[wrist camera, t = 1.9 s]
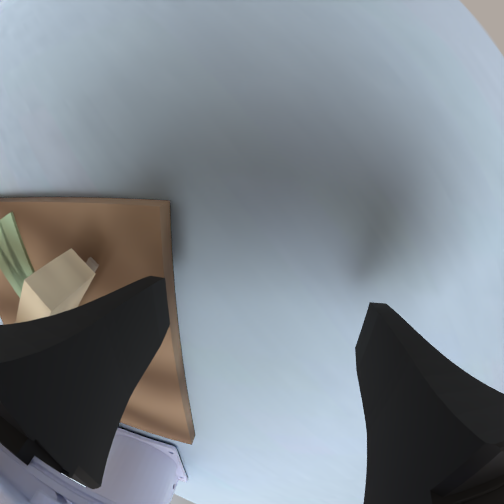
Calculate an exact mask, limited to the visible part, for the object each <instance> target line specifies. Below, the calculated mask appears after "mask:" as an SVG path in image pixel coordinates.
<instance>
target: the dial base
mask: <svg viewBox="0 0 504 504" xmlns="http://www.w3.org/2000/svg"><path fill="white" fill-rule="evenodd" d="M71 248H72V249H73V250H74V251H75V252H76V254H77V255H78V256H79V257H80V258H81V259H82V260H83V261H84V262H85V263H86V264H87V265H88V266H89V267H90V268H91V269H92V270H93V271H94V272H95V273H96V274H95V276H94V278H93V280H92V281H91V283H90V285H89V287H88V289H87V290H86V292H85V294H84V296H83V298H82V300H81V301H80V303H79V305H78V307H79V306H81V305H84V304H86V303H88V302H91V301H93V300H95V299H98V298H100V297H102V296H105V295H107V294H109V293H111V292H113V291H115V290H118V289H120V288H122V287H124V286H126V285H128V284H131V283H133V282H135V281H137V280H140V279H142V278H145V277H148V276H156V277H162V278H165V281H166V291H167V301H168V309H169V318H170V325H169V328H168V330H167V333H166V335H165V337H164V340H163V342H162V344H161V346H160V348H159V350H158V351H157V353H156V355H155V356H154V358H153V360H152V361H151V363H150V364H149V366H148V368H147V369H146V371H145V373H144V374H143V376H142V378H141V379H140V381H139V383H138V384H137V386H136V388H135V389H134V391H133V393H132V395H131V397H130V399H129V401H128V403H127V406H126V408H125V410H124V413H123V415H122V418H121V420H120V422H121V423H124V424H126V425H129V426H132V427H135V428H138V429H140V430H143V431H146V432H149V433H152V434H156V435H159V436H162V437H165V438H169V439H172V440H176V441H180V442H183V443H187V444H191V445H192V443H193V440H194V437H195V431H194V426H193V421H192V416H191V410H190V404H189V399H188V393H187V386H186V380H185V373H184V367H183V359H182V352H181V344H180V336H179V327H178V318H177V308H176V298H175V286H174V274H173V259H172V241H171V218H170V201H169V200H149V199H126V198H92V197H13V198H0V316H1V319H2V321H3V324H4V325H5V324H14V323H15V322H16V318H17V312H18V307H19V301H20V296H21V292H22V287H23V283H24V279H26V278H27V277H29V276H30V275H31V274H33V273H34V272H36V271H37V270H39V269H40V268H42V267H43V266H45V265H46V264H48V263H49V262H51V261H52V260H54V259H55V258H57V257H58V256H60V255H61V254H63V253H65V252H66V251H68V250H69V249H71Z"/></svg>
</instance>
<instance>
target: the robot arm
mask: <svg viewBox="0 0 504 504" xmlns="http://www.w3.org/2000/svg"><path fill="white" fill-rule="evenodd" d="M169 325H170V318H169V309H168V301H167V291H166V281H165V278H162V277H156V276H148V277H145V278H142V279H140V280H137V281H135V282H133V283H131V284H128V285H126V286H124V287H122V288H120V289H118V290H115V291H113V292H111V293H109V294H107V295H105V296H102V297H100V298H98V299H95V300H93V301H91V302H88V303H86V304H84V305H81V306H79V307H76V308H73V309H70V310H68V311H64V312H61V313H58V314H55V315H52V316H48V317H43V318H39V319H35V320H31V321H26V322H20V323H14V324H5V325H0V504H170V502H171V499H172V497H173V494H174V491H175V488H176V486H177V483H178V480H180V481H184V482H187V480H188V478H187V476H186V473H185V470H184V468H183V465H182V463H181V460H180V457H179V454H178V452H177V449H176V448H175V447H174V446H172V445H168V444H165V443H162V442H159V441H155V440H152V439H149V438H146V437H143V436H140V435H137V434H135V433H132V432H129V431H127V430H124V429H121V428H119V427H118V425H119V423H120V420H121V418H122V415H123V413H124V410H125V408H126V406H127V403H128V401H129V399H130V397H131V395H132V393H133V391H134V389H135V388H136V386H137V384H138V383H139V381H140V379H141V378H142V376H143V374H144V373H145V371H146V369H147V368H148V366H149V364H150V363H151V361H152V360H153V358H154V356H155V355H156V353H157V351H158V350H159V348H160V346H161V344H162V342H163V340H164V337H165V335H166V333H167V330H168V328H169ZM355 350H356V367H357V376H358V381H359V387H360V392H361V397H362V403H363V409H364V415H365V421H366V429H367V474H366V487H365V496H364V504H504V394H503V393H501V392H499V391H497V390H495V389H493V388H491V387H489V386H487V385H486V384H484V383H482V382H481V381H479V380H477V379H476V378H474V377H472V376H471V375H469V374H468V373H466V372H465V371H464V370H462V369H461V368H459V367H458V366H457V365H455V364H454V363H453V362H451V361H450V360H449V359H447V358H446V357H445V356H444V355H442V354H441V353H440V352H439V351H438V350H437V349H435V348H434V347H433V346H432V345H431V344H430V343H429V342H427V341H426V340H425V339H424V338H423V337H422V336H421V335H420V334H419V333H418V332H417V331H416V330H414V329H413V328H412V327H411V326H410V325H409V324H408V323H407V322H406V321H405V320H404V319H403V318H402V317H401V316H400V315H399V314H398V313H396V312H395V311H394V310H393V309H392V308H391V307H390V306H388V305H387V304H384V303H371V302H370V304H369V307H368V310H367V314H366V317H365V320H364V323H363V326H362V329H361V332H360V335H359V338H358V341H357V344H356V347H355ZM61 473H63V474H64V475H63V474H61ZM65 475H66V476H68V477H69V478H68V477H66V476H65ZM70 478H72V479H74V480H76V481H77V482H79V483H81V484H83V485H85V486H86V487H84V486H82V485H80V484H78V483H76V482H75V481H73V480H71V479H70Z"/></svg>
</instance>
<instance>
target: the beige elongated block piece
mask: <svg viewBox="0 0 504 504" xmlns="http://www.w3.org/2000/svg"><path fill="white" fill-rule="evenodd" d="M95 274H96V273H95V272H94V271H93V270H92V269H91V268H90V267H89V266H88V265H87V264H86V263H85V262H84V261H83V260H82V259H81V258H80V257H79V256H78V255H77V254H76V252H75V251H74V250H73V249H72V248H71V249H69V250H68V251H66V252H65V253H63V254H61V255H60V256H58V257H57V258H55V259H54V260H52V261H51V262H49V263H48V264H46V265H45V266H43V267H42V268H40V269H39V270H37V271H36V272H34V273H33V274H31V275H30V276H29V277H27V278H26V279H24V283H23V287H22V292H21V296H20V301H19V307H18V312H17V318H16V322H15V323H20V322H26V321H31V320H35V319H39V318H43V317H48V316H52V315H55V314H58V313H61V312H64V311H68V310H70V309H73V308H76V307H78V305H79V303H80V301H81V300H82V298H83V296H84V294H85V292H86V290H87V289H88V287H89V285H90V283H91V281H92V280H93V278H94V276H95Z"/></svg>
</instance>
